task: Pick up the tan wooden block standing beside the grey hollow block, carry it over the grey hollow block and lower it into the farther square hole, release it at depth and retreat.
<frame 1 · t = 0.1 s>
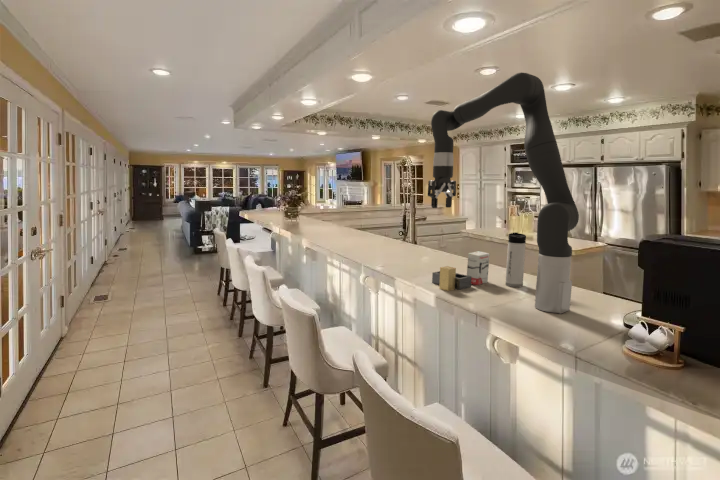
hand: (441, 207, 159), 29 cm above the table, fingers open, 8 cm apart
tan wooden block: (447, 289, 151), on the table
grey hollow block: (451, 284, 157), on the table
travel mug: (513, 285, 158), on the table
ink box: (477, 283, 161), on the table
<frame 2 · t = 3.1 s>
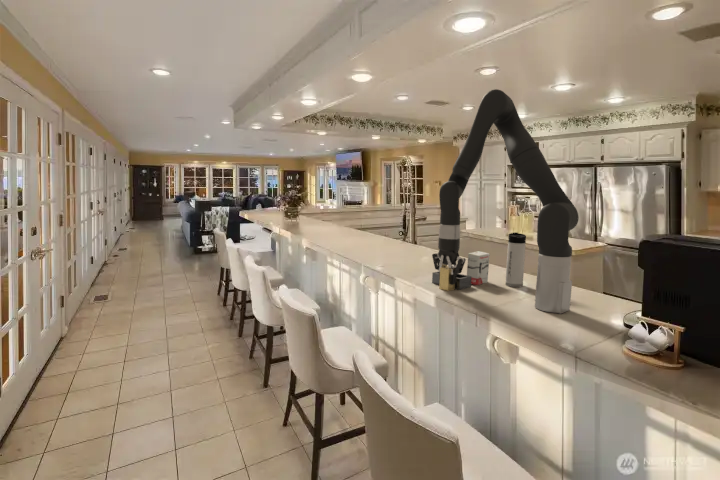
hand: (447, 282, 151), 2 cm above the table, fingers closed on tan wooden block, 4 cm apart
tan wooden block: (447, 288, 151), on the table, touching gripper
everything else where it was.
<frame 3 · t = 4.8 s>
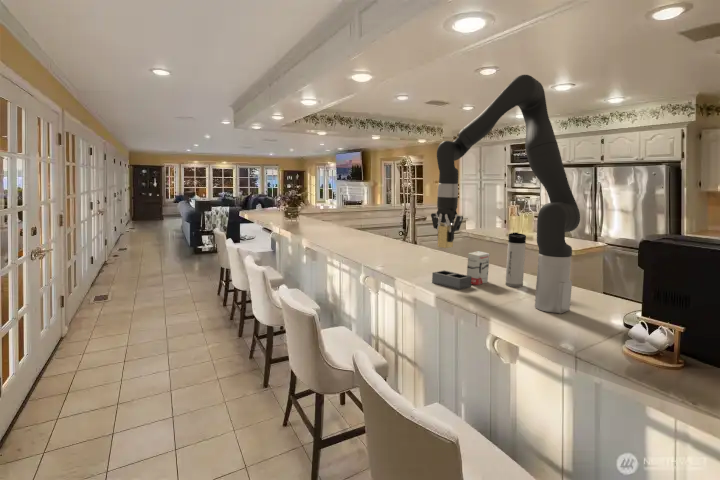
hand: (445, 240, 157), 17 cm above the table, fingers closed on tan wooden block, 4 cm apart
tan wooden block: (445, 246, 157), point 14 cm above the table, touching gripper
everything else where it was.
when the fingers open (5 cm above the table, at t = 6.9 s): tan wooden block drops 2 cm, resting in grey hollow block.
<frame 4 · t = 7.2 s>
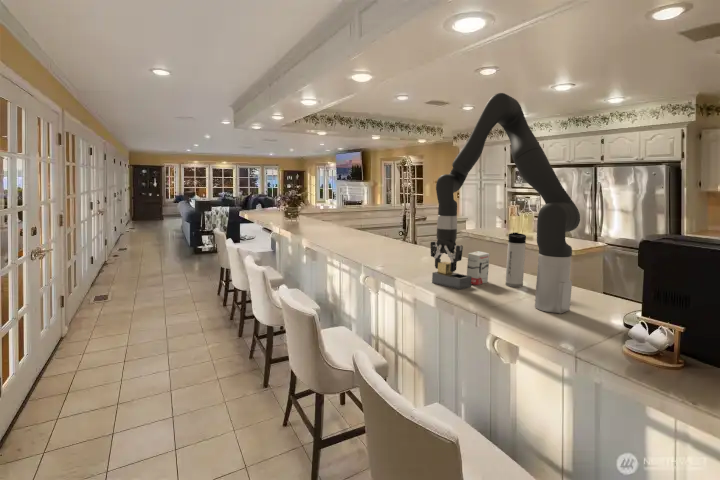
hand: (445, 269, 159), 5 cm above the table, fingers open, 6 cm apart
tan wooden block: (444, 283, 160), resting in grey hollow block
everything else where it was.
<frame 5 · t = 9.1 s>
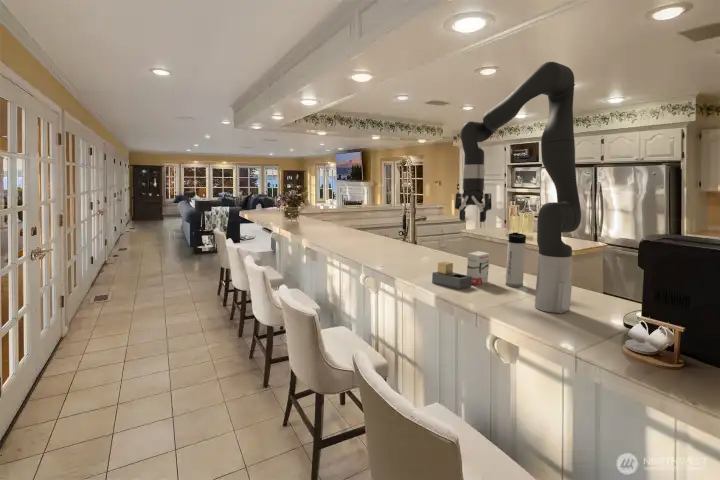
hand: (472, 221, 154), 24 cm above the table, fingers open, 8 cm apart
nothing on the table moved.
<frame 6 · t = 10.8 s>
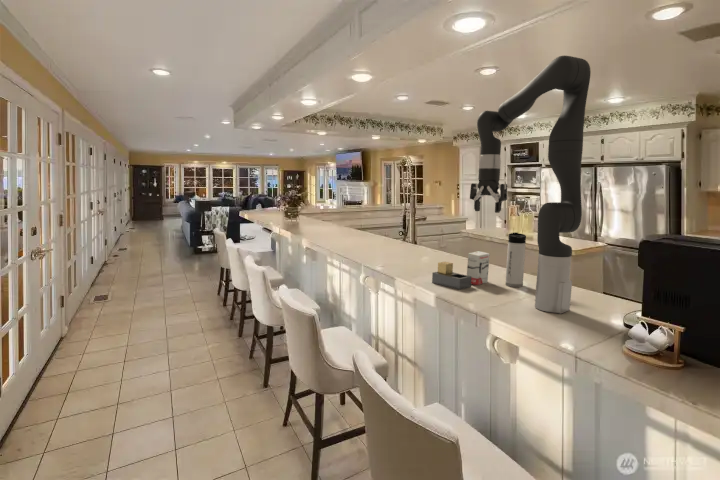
hand: (487, 211, 153), 28 cm above the table, fingers open, 8 cm apart
nothing on the table moved.
at the end: tan wooden block 0.0 cm from the target spot on the grey hollow block, point 0.0 cm above the grey hollow block's base; tan wooden block tilted 0°; the gripper is holding nothing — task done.
